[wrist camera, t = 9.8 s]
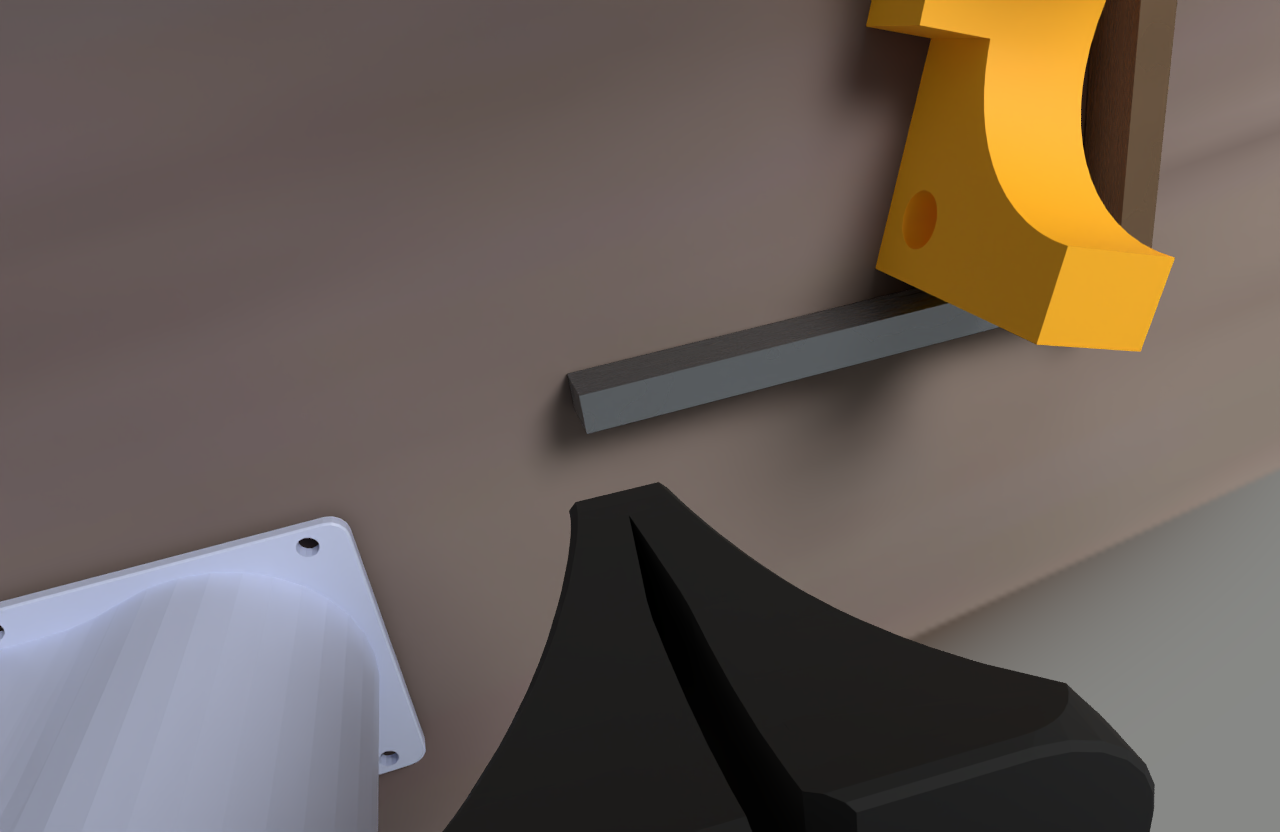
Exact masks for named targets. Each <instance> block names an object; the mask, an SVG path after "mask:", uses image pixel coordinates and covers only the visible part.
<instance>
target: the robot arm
mask: <svg viewBox="0 0 1280 832" xmlns="http://www.w3.org/2000/svg"><path fill="white" fill-rule="evenodd" d="M569 512H570V517H571V538H570V547H569V555H568V562H567V567H566V572H565V577H564V582H563V586H562V591H561V595H560V599H559V603H558V606H557V610H556V613H555V616H554V620H553V623H552V627H551V630H550V633H549V637H548V640H547V642H546V645H545V648H544V651H543V654H542V656H541V659H540V662H539V664H538V667H537V669H536V671H535V674H534V676H533V679H532V681H531V683H530V686H529V688H528V690H527V693H526V695H525V697H524V699H523V701H522V703H521V705H520V707H519V709H518V711H517V713H516V715H515V717H514V719H513V721H512V723H511V725H510V727H509V729H508V731H507V733H506V735H505V737H504V738H503V740H502V742H501V744H500V746H499V747H498V749H497V751H496V752H495V754H494V756H493V757H492V759H491V760H490V762H489V764H488V765H487V767H486V768H485V770H484V772H483V773H482V775H481V776H480V778H479V780H478V781H477V783H476V784H475V786H474V788H473V789H472V791H471V792H470V794H469V796H468V797H467V799H466V800H465V802H464V803H463V805H462V806H461V808H460V809H459V810H458V812H457V813H456V815H455V816H454V817H453V819H452V820H451V821H450V823H449V824H448V825H447V827H446V828H445V829H444V831H443V832H1150V827H1151V822H1152V817H1153V811H1154V782H1153V780H1152V778H1151V775H1150V773H1149V770H1148V768H1147V766H1146V764H1145V763H1144V762H1143V761H1142V759H1141V758H1140V757H1139V756H1138V755H1137V754H1136V753H1135V752H1134V751H1133V750H1132V749H1131V747H1130V746H1129V745H1128V744H1127V743H1126V742H1125V741H1124V740H1123V739H1122V738H1121V736H1120V735H1119V734H1118V733H1117V732H1116V731H1115V730H1114V729H1113V728H1112V727H1111V726H1110V725H1109V724H1108V723H1107V722H1106V720H1105V719H1104V718H1103V717H1102V716H1101V715H1100V714H1099V713H1098V712H1097V711H1095V710H1094V709H1093V708H1092V707H1091V706H1090V705H1089V704H1088V703H1087V702H1085V701H1084V700H1083V699H1082V698H1081V697H1080V696H1079V695H1078V694H1077V693H1075V692H1074V691H1073V690H1072V689H1071V688H1070V687H1069V686H1068V685H1067V684H1066V683H1063V682H1058V681H1054V680H1049V679H1046V678H1041V677H1037V676H1033V675H1029V674H1025V673H1020V672H1016V671H1011V670H1008V669H1004V668H999V667H995V666H991V665H987V664H983V663H979V662H976V661H973V660H969V659H966V658H963V657H960V656H956V655H953V654H950V653H947V652H944V651H941V650H938V649H934V648H931V647H928V646H926V645H923V644H920V643H917V642H914V641H912V640H909V639H906V638H903V637H901V636H898V635H896V634H893V633H891V632H888V631H886V630H884V629H881V628H879V627H876V626H874V625H872V624H869V623H867V622H864V621H862V620H860V619H857V618H855V617H853V616H851V615H849V614H847V613H844V612H842V611H840V610H838V609H836V608H834V607H832V606H830V605H828V604H826V603H825V602H823V601H821V600H819V599H817V598H815V597H813V596H811V595H809V594H807V593H806V592H804V591H802V590H800V589H799V588H797V587H795V586H794V585H792V584H790V583H789V582H787V581H786V580H784V579H782V578H781V577H779V576H778V575H776V574H775V573H773V572H772V571H770V570H769V569H767V568H766V567H764V566H763V565H761V564H760V563H758V562H757V561H755V560H754V559H753V558H751V557H750V556H748V555H747V554H745V553H744V552H743V551H741V550H740V549H739V548H738V547H736V546H735V545H734V544H732V543H731V542H730V541H728V540H727V539H726V538H724V537H723V536H722V535H720V534H719V533H718V532H717V531H715V530H714V529H713V528H712V527H710V526H709V525H708V524H707V523H706V522H704V521H703V520H702V519H701V518H700V517H699V516H697V515H696V514H695V513H694V512H693V511H692V510H690V509H689V508H688V507H687V506H686V505H685V504H684V503H683V502H682V501H680V500H679V499H678V498H677V497H676V496H675V495H674V494H673V493H672V492H671V491H670V490H669V489H668V488H667V487H665V486H664V485H662V484H661V483H659V482H657V483H653V484H649V485H645V486H641V487H637V488H632V489H628V490H624V491H620V492H616V493H612V494H608V495H603V496H599V497H595V498H591V499H587V500H583V501H579V502H575V504H574V505H573V506H572V508H571V509H570V511H569ZM303 538H312V539H315V540H316V541H317V542H318V543H319V544H318V545H317V546H315V547H314V548H305V547H302V546H301V545H300V544H299V543H298V541H299V540H301V539H303ZM0 626H1V627H3V628H4V631H0V832H378V786H379V775H380V774H383V773H386V772H389V771H393V770H396V769H399V768H402V767H405V766H408V765H412V764H414V763H416V762H418V761H419V760H420V759H421V758H422V757H423V756H424V754H425V751H426V749H425V737H424V734H423V732H422V729H421V726H420V723H419V720H418V717H417V715H416V712H415V709H414V706H413V703H412V701H411V698H410V695H409V692H408V689H407V686H406V684H405V681H404V678H403V675H402V672H401V669H400V667H399V664H398V661H397V658H396V655H395V653H394V650H393V647H392V644H391V641H390V638H389V636H388V633H387V630H386V627H385V624H384V621H383V619H382V616H381V613H380V610H379V607H378V605H377V602H376V599H375V596H374V593H373V590H372V588H371V585H370V582H369V579H368V576H367V573H366V571H365V568H364V565H363V562H362V559H361V557H360V554H359V551H358V548H357V545H356V542H355V540H354V537H353V534H352V531H351V529H350V527H349V525H348V524H347V522H345V521H344V520H342V519H341V518H337V517H333V516H330V517H322V518H318V519H314V520H311V521H307V522H303V523H299V524H295V525H291V526H288V527H284V528H280V529H276V530H272V531H269V532H265V533H261V534H257V535H253V536H249V537H246V538H242V539H238V540H234V541H230V542H227V543H223V544H219V545H215V546H211V547H207V548H204V549H200V550H196V551H192V552H188V553H185V554H181V555H177V556H173V557H169V558H166V559H162V560H158V561H154V562H150V563H146V564H143V565H139V566H135V567H131V568H127V569H124V570H120V571H116V572H112V573H108V574H104V575H101V576H97V577H93V578H89V579H85V580H82V581H78V582H74V583H70V584H66V585H62V586H59V587H55V588H51V589H47V590H43V591H40V592H36V593H32V594H28V595H24V596H20V597H17V598H13V599H9V600H5V601H1V602H0ZM386 751H394V752H396V753H394V754H392V755H383V754H382V753H384V752H386Z"/></svg>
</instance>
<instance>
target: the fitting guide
mask: <svg viewBox="0 0 1280 832" xmlns="http://www.w3.org/2000/svg"><path fill="white" fill-rule="evenodd" d="M1176 7H1177V0H1106V2H1105V5H1104V7H1103V10H1102V13H1101V15H1100V18H1099V21H1098V23H1097V26H1096V30H1095V33H1094V36H1093V39H1092V43H1091V53H1090V68H1089V83H1088V98H1087V113H1086V128H1085V143H1084V154H1085V160H1086V164H1087V167H1088V171H1089V174H1090V177H1091V180H1092V182H1093V185H1094V187H1095V189H1096V192H1097V194H1098V196H1099V198H1100V199H1101V201H1102V203H1103V204H1104V206H1105V208H1106V209H1107V211H1108V212H1109V213H1110V214H1111V216H1112V217H1113V218H1114V220H1115V221H1116V222H1117V223H1118V224H1119V225H1120V226H1121V227H1122V228H1123V229H1124V230H1125V231H1126V232H1127V233H1128V234H1130V235H1131V236H1132V237H1134V238H1135V239H1137V240H1138V241H1139V242H1141V243H1142V244H1144V245H1146V246H1148V247H1150V248H1152V238H1153V229H1154V219H1155V210H1156V200H1157V190H1158V181H1159V171H1160V161H1161V152H1162V142H1163V132H1164V123H1165V113H1166V103H1167V94H1168V84H1169V75H1170V65H1171V55H1172V46H1173V36H1174V26H1175V17H1176ZM994 328H998V326H996V325H994V324H992V323H990V322H988V321H986V320H984V319H981V318H979V317H977V316H975V315H973V314H971V313H969V312H967V311H965V310H962V309H960V308H958V307H956V306H954V305H952V304H950V303H948V302H945V301H943V300H941V299H939V298H937V297H935V296H933V295H931V294H928V293H926V292H924V291H922V290H920V289H918V288H914V289H910V290H906V291H902V292H898V293H894V294H890V295H886V296H882V297H878V298H873V299H869V300H865V301H861V302H857V303H853V304H849V305H845V306H841V307H837V308H833V309H829V310H825V311H821V312H816V313H812V314H808V315H804V316H800V317H796V318H792V319H788V320H784V321H780V322H776V323H772V324H768V325H764V326H760V327H755V328H751V329H747V330H743V331H739V332H735V333H731V334H727V335H723V336H719V337H715V338H711V339H707V340H703V341H699V342H694V343H690V344H686V345H682V346H678V347H674V348H670V349H666V350H662V351H658V352H654V353H650V354H646V355H642V356H637V357H633V358H629V359H625V360H621V361H617V362H613V363H609V364H605V365H601V366H597V367H593V368H589V369H585V370H581V371H576V372H572V373H568V374H567V375H568V380H569V385H570V390H571V395H572V399H573V404H574V409H575V412H576V414H577V416H578V417H579V419H580V421H581V423H582V425H583V427H584V429H585V431H586V433H587V434H589V433H593V432H597V431H601V430H604V429H608V428H612V427H616V426H620V425H624V424H628V423H631V422H635V421H639V420H643V419H647V418H651V417H655V416H658V415H662V414H666V413H670V412H674V411H678V410H682V409H685V408H689V407H693V406H697V405H701V404H705V403H709V402H712V401H716V400H720V399H724V398H728V397H732V396H736V395H739V394H743V393H747V392H751V391H755V390H759V389H763V388H766V387H770V386H774V385H778V384H782V383H786V382H790V381H793V380H797V379H801V378H805V377H809V376H813V375H817V374H821V373H824V372H828V371H832V370H836V369H840V368H844V367H848V366H851V365H855V364H859V363H863V362H867V361H871V360H875V359H878V358H882V357H886V356H890V355H894V354H898V353H902V352H905V351H909V350H913V349H917V348H921V347H925V346H929V345H932V344H936V343H940V342H944V341H948V340H952V339H956V338H959V337H963V336H967V335H971V334H975V333H979V332H983V331H986V330H990V329H994Z"/></svg>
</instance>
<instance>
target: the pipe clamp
mask: <svg viewBox="0 0 1280 832" xmlns="http://www.w3.org/2000/svg"><path fill="white" fill-rule="evenodd" d="M1105 2H1106V0H872V1H871V6H870V10H869V15H868V19H867V24H866V27H872V28H877V29H883V30H888V31H893V32H899V33H904V34H909V35H915V36H920V37H926V38H931V41H930V45H929V49H928V53H927V57H926V62H925V66H924V70H923V74H922V78H921V82H920V86H919V90H918V95H917V99H916V103H915V107H914V111H913V115H912V119H911V123H910V128H909V132H908V136H907V140H906V144H905V148H904V152H903V156H902V161H901V165H900V169H899V173H898V177H897V181H896V185H895V189H894V194H893V198H892V202H891V206H890V210H889V214H888V218H887V222H886V227H885V231H884V235H883V239H882V243H881V247H880V251H879V255H878V260H877V264H876V268H875V269H878V270H880V271H882V272H884V273H886V274H888V275H890V276H892V277H895V278H897V279H899V280H901V281H903V282H905V283H907V284H909V285H911V286H914V287H916V288H918V289H920V290H922V291H924V292H926V293H928V294H931V295H933V296H935V297H937V298H939V299H941V300H943V301H945V302H948V303H950V304H952V305H954V306H956V307H958V308H960V309H962V310H965V311H967V312H969V313H971V314H973V315H975V316H977V317H979V318H981V319H984V320H986V321H988V322H990V323H992V324H994V325H996V326H998V327H1001V328H1003V329H1005V330H1007V331H1009V332H1011V333H1013V334H1015V335H1018V336H1020V337H1022V338H1024V339H1026V340H1028V341H1030V342H1032V343H1035V344H1037V345H1052V346H1066V347H1081V348H1096V349H1110V350H1125V351H1141V349H1142V346H1143V343H1144V341H1145V338H1146V335H1147V332H1148V330H1149V327H1150V324H1151V321H1152V319H1153V316H1154V313H1155V311H1156V308H1157V305H1158V302H1159V300H1160V297H1161V294H1162V292H1163V289H1164V286H1165V283H1166V281H1167V278H1168V275H1169V272H1170V270H1171V267H1172V264H1173V262H1174V259H1175V258H1174V257H1171V256H1168V255H1166V254H1163V253H1160V252H1157V251H1155V250H1153V249H1152V248H1150V247H1148V246H1146V245H1144V244H1142V243H1141V242H1139V241H1138V240H1137V239H1135V238H1134V237H1132V236H1131V235H1130V234H1128V233H1127V232H1126V231H1125V230H1124V229H1123V228H1122V227H1121V226H1120V225H1119V224H1118V223H1117V222H1116V221H1115V220H1114V218H1113V217H1112V216H1111V214H1110V213H1109V212H1108V211H1107V209H1106V208H1105V206H1104V204H1103V203H1102V201H1101V199H1100V198H1099V196H1098V194H1097V192H1096V189H1095V187H1094V185H1093V182H1092V180H1091V177H1090V174H1089V171H1088V167H1087V164H1086V160H1085V154H1084V149H1083V143H1082V132H1081V100H1082V87H1083V81H1084V74H1085V68H1086V63H1087V59H1088V55H1089V50H1090V46H1091V43H1092V39H1093V36H1094V33H1095V30H1096V26H1097V23H1098V21H1099V18H1100V15H1101V13H1102V10H1103V7H1104V5H1105Z"/></svg>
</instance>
